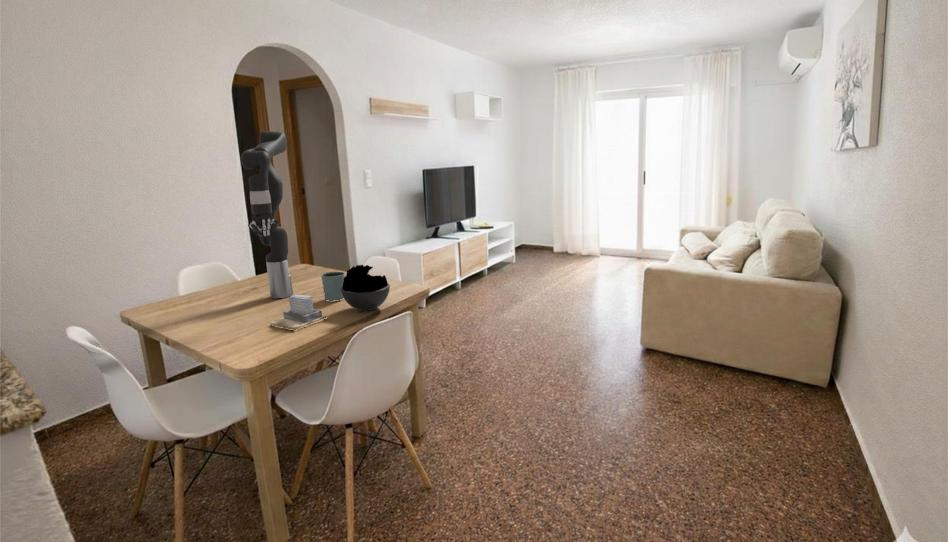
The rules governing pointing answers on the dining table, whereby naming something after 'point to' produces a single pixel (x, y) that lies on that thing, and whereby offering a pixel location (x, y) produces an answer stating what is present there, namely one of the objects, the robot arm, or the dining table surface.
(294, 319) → the jig
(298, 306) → the medicine box
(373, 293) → the coal bowl
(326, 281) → the teal cup
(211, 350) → the dining table surface
